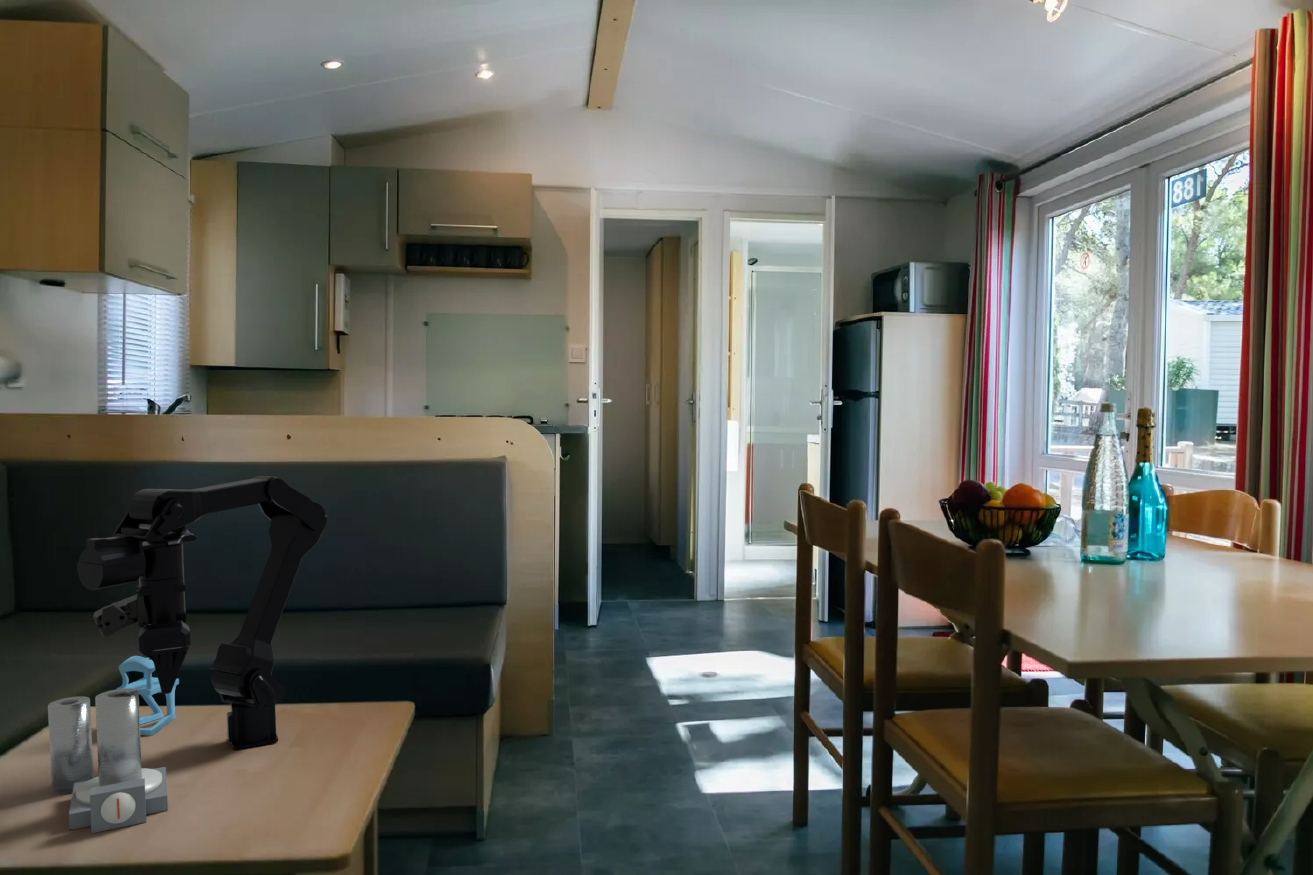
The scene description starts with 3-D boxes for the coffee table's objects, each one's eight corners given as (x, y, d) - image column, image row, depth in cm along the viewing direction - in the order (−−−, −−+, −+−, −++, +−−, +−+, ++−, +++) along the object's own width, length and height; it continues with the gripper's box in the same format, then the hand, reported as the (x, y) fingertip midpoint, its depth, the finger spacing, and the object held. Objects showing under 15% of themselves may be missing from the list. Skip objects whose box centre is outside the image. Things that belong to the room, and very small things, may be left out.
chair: (187, 718, 160) (185, 648, 159) (150, 735, 151) (148, 662, 151) (148, 716, 161) (146, 646, 161) (110, 732, 153) (107, 659, 153)
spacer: (94, 776, 135) (90, 693, 135) (93, 789, 131) (89, 703, 130) (53, 783, 133) (49, 699, 132) (50, 797, 129) (46, 710, 128)
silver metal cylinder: (149, 774, 128) (146, 688, 128) (128, 790, 124) (124, 699, 123) (113, 775, 129) (109, 688, 128) (90, 790, 124) (86, 700, 123)
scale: (166, 780, 134) (164, 747, 133) (168, 818, 121) (166, 782, 121) (75, 797, 128) (73, 762, 128) (67, 839, 116) (66, 801, 116)
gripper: (98, 572, 139) (103, 676, 140) (92, 595, 123) (97, 713, 123) (183, 564, 144) (187, 665, 145) (188, 585, 128) (192, 699, 129)
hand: (165, 684), depth 135 cm, fingers open, 9 cm apart
